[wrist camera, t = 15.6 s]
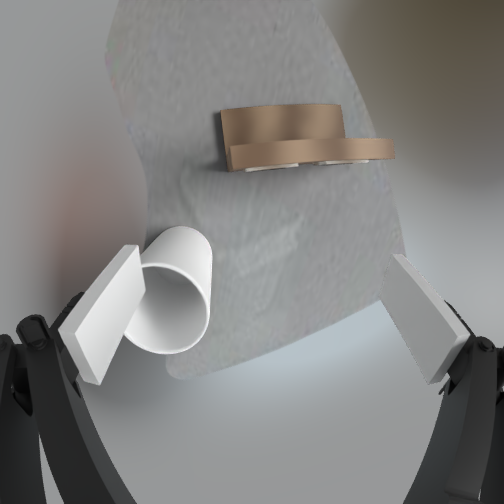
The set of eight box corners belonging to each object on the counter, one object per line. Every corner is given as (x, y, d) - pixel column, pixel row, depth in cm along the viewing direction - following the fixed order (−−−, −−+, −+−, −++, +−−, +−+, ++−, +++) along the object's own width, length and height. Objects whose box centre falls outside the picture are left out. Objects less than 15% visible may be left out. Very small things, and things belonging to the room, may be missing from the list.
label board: (228, 175, 34) (233, 173, 23) (220, 112, 32) (221, 81, 20) (345, 164, 35) (395, 162, 24) (337, 106, 33) (383, 83, 22)
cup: (186, 297, 38) (170, 369, 22) (140, 259, 36) (94, 313, 20) (225, 253, 37) (231, 308, 21) (177, 213, 35) (147, 241, 19)
